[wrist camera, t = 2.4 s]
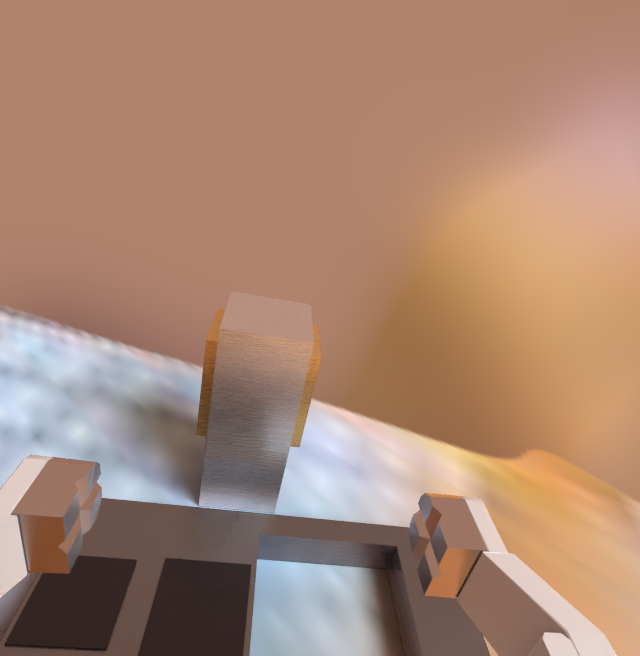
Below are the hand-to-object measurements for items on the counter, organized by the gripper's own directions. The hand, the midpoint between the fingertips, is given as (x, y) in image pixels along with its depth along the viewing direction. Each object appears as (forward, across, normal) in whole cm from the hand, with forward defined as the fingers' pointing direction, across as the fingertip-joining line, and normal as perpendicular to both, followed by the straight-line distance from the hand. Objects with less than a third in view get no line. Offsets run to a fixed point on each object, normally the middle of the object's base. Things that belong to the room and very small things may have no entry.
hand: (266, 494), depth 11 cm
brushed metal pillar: (+12, +1, +13) cm, 18 cm away
